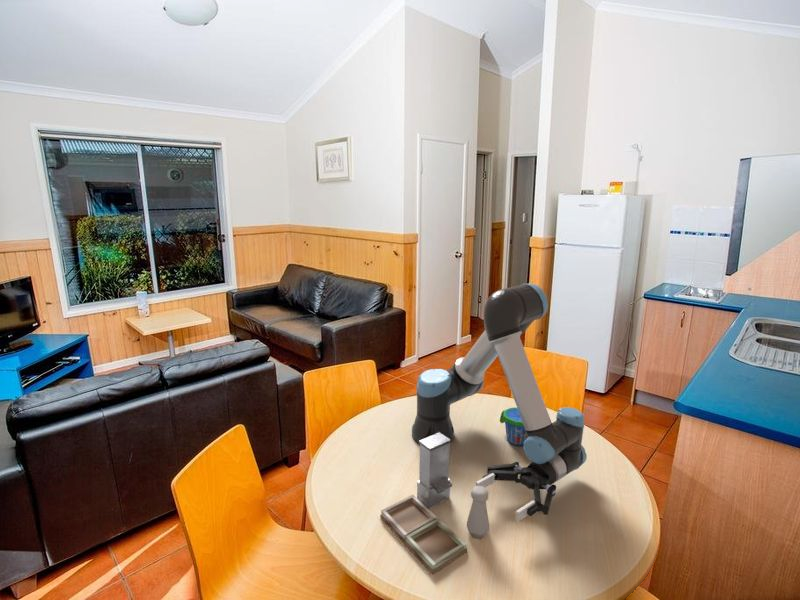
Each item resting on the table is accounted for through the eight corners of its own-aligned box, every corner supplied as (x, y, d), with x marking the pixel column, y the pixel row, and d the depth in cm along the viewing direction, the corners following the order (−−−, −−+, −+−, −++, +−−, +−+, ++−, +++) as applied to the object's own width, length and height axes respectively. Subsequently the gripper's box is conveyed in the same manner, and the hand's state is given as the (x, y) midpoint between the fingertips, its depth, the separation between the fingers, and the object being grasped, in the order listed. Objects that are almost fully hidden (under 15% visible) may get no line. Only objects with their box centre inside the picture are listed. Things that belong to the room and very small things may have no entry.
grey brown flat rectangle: (380, 517, 118) (380, 510, 118) (412, 501, 125) (412, 494, 124) (432, 574, 101) (432, 566, 101) (467, 552, 107) (467, 544, 107)
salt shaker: (488, 543, 110) (491, 499, 107) (465, 539, 111) (467, 495, 108) (488, 526, 116) (491, 483, 112) (466, 522, 117) (469, 480, 113)
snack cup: (491, 433, 159) (493, 407, 156) (514, 426, 163) (516, 401, 161) (520, 456, 145) (522, 428, 143) (544, 448, 150) (547, 421, 147)
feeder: (417, 499, 125) (417, 440, 121) (438, 488, 130) (439, 431, 125) (433, 514, 120) (435, 454, 115) (455, 502, 124) (458, 443, 119)
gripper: (584, 506, 118) (534, 543, 105) (511, 460, 137) (461, 487, 125) (587, 482, 116) (537, 517, 103) (512, 439, 135) (462, 464, 123)
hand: (495, 501), depth 114 cm, fingers open, 13 cm apart
